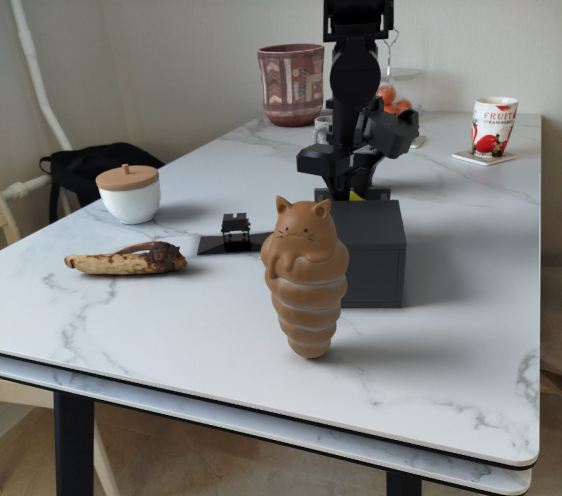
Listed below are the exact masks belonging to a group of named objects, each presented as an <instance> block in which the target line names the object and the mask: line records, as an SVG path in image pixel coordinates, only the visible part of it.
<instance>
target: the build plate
mask: <svg viewBox="0 0 562 496" xmlns="http://www.w3.org/2000/svg"><path fill="white" fill-rule="evenodd" d="M251 223H252V222H250V218H249V217H248V214H247V212H237V213H236V216H235V215H234V213H233V212H232V213H223V217H222V221H221V229H220V233H221V234H214V235H201V236H200V238H199V243H198V247H197V251H196V256H197V257H203V256H205V257H207V256H220V255H236V254H249V253H261V248H262V245H263V243H264V241H265V240H266V239H267V238H268V237H269V236H270V235H271V234H273V233H274V230H272V231H260V232H259V231H258V232H251V227H250V226H252V224H251ZM232 232H239V233H232Z"/></svg>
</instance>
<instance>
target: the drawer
mask: <svg viewBox="0 0 562 496" xmlns="http://www.w3.org/2000/svg"><path fill="white" fill-rule="evenodd" d="M350 191H353V192H354V190H353V187H351V190H350ZM391 195H392V188H391V186H388V185H387V186H374V187H369V189H368V192H367V195H366V198H365V200H391ZM313 197H314V198H313V199H314V201H324V200H326V199H330V200H331V201H334V199H333V197H332V195H331V193H330V191H329V189H328V187H316V188H314V190H313ZM314 201H313V202H314Z"/></svg>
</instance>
